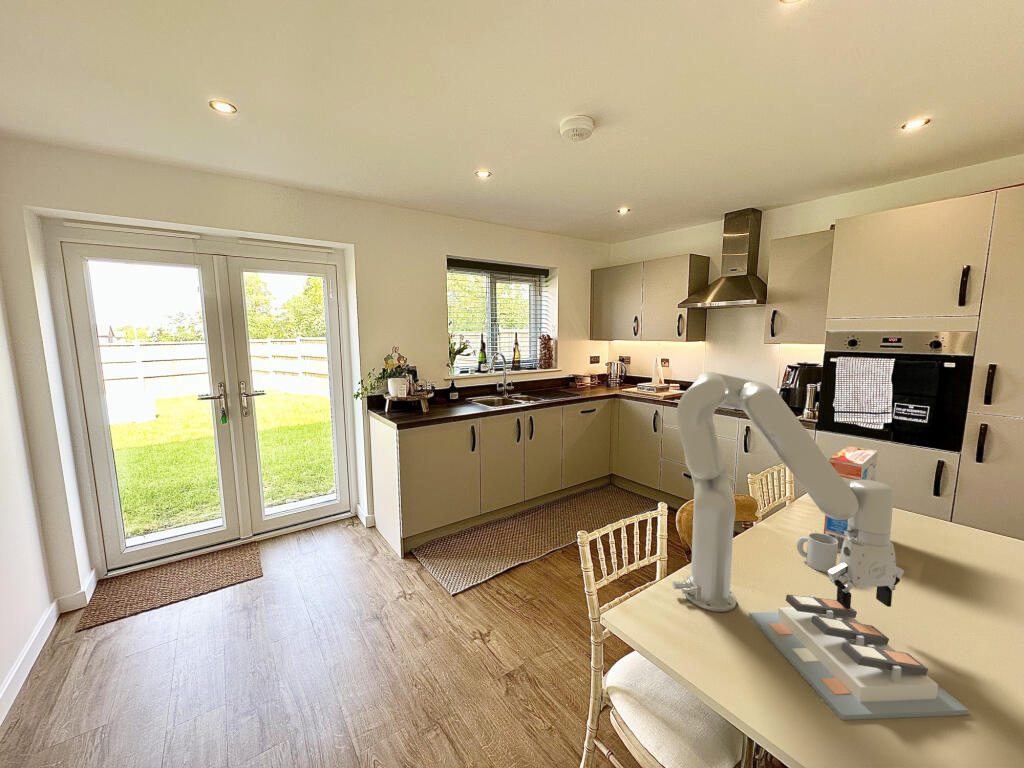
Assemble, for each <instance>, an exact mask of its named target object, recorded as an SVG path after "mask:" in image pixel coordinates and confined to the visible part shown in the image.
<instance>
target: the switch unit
mask: <svg viewBox="0 0 1024 768" xmlns="http://www.w3.org/2000/svg"><path fill="white" fill-rule="evenodd" d="M808 597H813V598H816V596H815V595H808ZM833 613H834V612H833V611H832V610H826V615H825V614H817V613H808V612H799V611H797V610H796V609H795V608H793V607H792V606H789V607H787V606H785V607H784V606H783V607H778V611H771V612H769V611H767V612H749V614H748V615H749V619H750V620H752V622H754V624H755V625H756V626H757V627H758V628H759V629H760V630H761V631H762V632H763V634H764V635H765V636H766V637H767V638H768V639H769V640H770V641H771V643H772V644H773V645H774V646H775V647H776V649H778V650H779V651H780V653H781V654H782V655H783V656H784V657H785V659H787V661H789V663H790V664H791V666H793V667H794V669H795V670H796V671H797V672H798V673H799V674H800V675H801V676H802V677H803V678H804V679H805V681H806V682H807V683H808V684H809V685H810V686H811V687H812V688H813V690H814V691H815V692H816V693H817V695H819V696H820V698H821V699H822V700H823V701H824V702H825V703H826V704H827V705H828V706H829V708H831V710H832V711H833V712H834V713H835V715H836V716H837V717H839V719H840V720H841V721H848V720H849V721H850V720H851V721H852V720H872V719H873V720H874V719H875V720H876V719H896V718H897V719H899V718H902V719H903V718H919V717H920V718H921V717H922V718H923V717H941V716H942V717H948V716H949V717H951V716H969V712H970V709H968V708H967V707H966V706H964V705H963V704H962V703H961V702H960V701H958V700H957V699H956V698H954V697H953V696H952V695H951V694H949V693H948V691H946V690H945V689H943V688H942V687H940V685H939V684H938V683H936V681H934V680H933V679H932V678H931V677H929V676H928V675H926V676H922V675H916V674H910V673H904V672H901V671H902V668H901V667H900V666H893V667H892V670H886V669H880V668H874V667H868V666H862V665H858V664H857V663H855V662H854V661H853V660H852V659H851V658H850V657H849V656H848V655H847V654H846V653H845V652H843V651H842V650H841V647H842V644H843V642H844V643H850V644H856V645H862V646H868V647H874V648H879V649H885V650H891V651H896V650H895V649H894V648H893V647H891V646H890V645H889V644H887V645H882V644H877V643H871V642H865V641H864V637H863V636H862V635H861V636H856V640H853V639H847V638H841V637H835V636H829V635H825V634H824V633H823V632H822V631H821V630H819V629H818V628H817V627H816V626H815V625H814V624H813V623H812V622H811V620H812V616H819V617H825V618H831V619H836V620H842V621H848V622H854V623H860V624H862V623H861V622H860V621H859V620H857V619H856V618H851V617H843V616H834V615H833Z"/></svg>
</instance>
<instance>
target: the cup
mask: <svg viewBox="0 0 1024 768" xmlns="http://www.w3.org/2000/svg"><path fill="white" fill-rule="evenodd" d="M804 543H807V548H806V551H804ZM837 549H838V541H837V540H836V539H835V538H833V537H831V536H829V535H826V534H824V533H821V532H810V533H808V536H801V537H799V538H798V539H797V541H796V550H797V552H798V554H799V555H800V556H802V558H805V559H806V560H805V562H806V564H807V566H808V567H809V568H811V567H812V568H811V569H813V570H815V569H816V570H815V571H818V572H821V571H822V573H827V572H828V571H829V570H830V569H832V568H834V567H836V566H837V560H838V552H837Z"/></svg>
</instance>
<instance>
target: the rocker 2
mask: <svg viewBox="0 0 1024 768" xmlns="http://www.w3.org/2000/svg"><path fill="white" fill-rule="evenodd" d="M811 622H812V623H813V624H814V625H815V626H816V627H817V628H818V629H819V630H821V631H822V632H823V633H824V634H825V635H829V636H835V637H841V638H847V639H853V640H856V636H861V635H862V636H863V637H864V641H865V642H871V643H877V644H882V645H887V644H888V643H889V641H890V638H889V637H888V636H886V635H885V634H884V633H882V632H881V631H880V630H879V629H878V628H876V627H875V626H874V625H872V624H871V625H870V624H865V623H864V624H863V623H861V622H860V623H861V624H860V623H854V622H848V621H842V620H836V619H831V618H825V617H819V616H812V620H811ZM888 645H889V644H888Z"/></svg>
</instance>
